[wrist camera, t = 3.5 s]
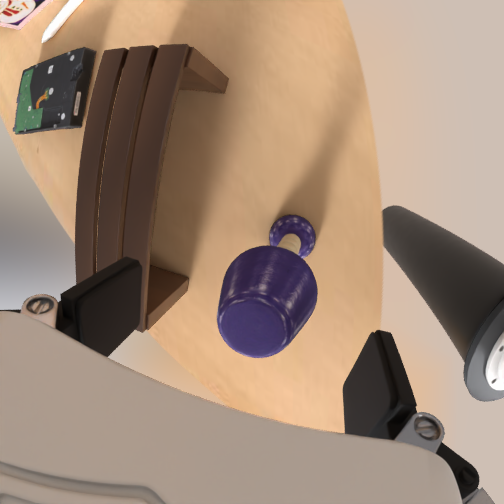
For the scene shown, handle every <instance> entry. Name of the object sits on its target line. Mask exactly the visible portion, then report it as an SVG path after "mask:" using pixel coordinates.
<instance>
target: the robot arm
mask: <svg viewBox="0 0 504 504" xmlns="http://www.w3.org/2000/svg"><path fill="white" fill-rule="evenodd" d="M142 271H143V267H142V265H140V262H139V260H136V259H133V258H130V257H127V256H126V257H123V258H122V259H120V260H118V261H116V262H115V263H113V264H111V265H109V266H107V267H106V268H104V269H102V270H100V271H99V272H97V273H95V274H94V275H92V276H90V277H88V278H87V279H85V280H83V281H82V282H80V283H78V284H77V285H75V286H73V287H72V288H70V289H68V290H67V291H65V292H63V293H62V294H61V301H60V302H57V300H56V299H55V298H54V297H52V296H49V295H46V294H38V295H34V296H31V297H29V298H28V299H26V300H25V301H24V303H23V305H22V309H21V310H0V504H495V503H494V502H493V501H492V499H491V498H490V497H489V496H488V494H487V493H486V491H485V490H484V489H483V488H481V489H478V488H477V487H478V485H479V475H478V472H477V470H476V469H475V468H474V467H473V466H472V465H471V464H470V463H468V462H467V461H466V460H464V459H463V458H462V457H460V456H459V455H458V454H456V453H455V452H454V451H452V450H451V449H450V448H449V447H447V446H446V445H444V444H443V443H442V440H443V438H444V434H445V432H444V427H443V425H442V423H441V422H440V421H439V420H438V419H437V418H436V417H435V416H433V415H431V414H429V413H425V412H419V413H417V411H416V406H417V404H416V401H415V398H414V395H413V392H412V389H411V386H410V383H409V380H408V377H407V374H406V371H405V368H404V366H403V363H402V360H401V357H400V354H399V352H398V349H397V347H396V344H395V341H394V339H393V336H392V334H391V333H389V332H385V331H381V330H376V332H375V333H374V332H372V333H371V334H370V335H369V337H368V339H367V341H366V343H365V345H364V347H363V349H362V351H361V353H360V355H359V357H358V359H357V361H356V363H355V364H354V366H353V368H352V370H351V372H350V373H349V375H348V377H347V379H346V381H345V383H344V385H343V403H344V422H345V434H344V433H337V432H331V431H325V430H319V429H314V428H309V427H304V426H299V425H294V424H290V423H286V422H281V421H277V420H273V419H269V418H265V417H262V416H258V415H254V414H251V413H247V412H244V411H240V410H237V409H234V408H230V407H227V406H224V405H221V404H218V403H215V402H212V401H209V400H206V399H203V398H200V397H198V396H195V395H192V394H189V393H187V392H184V391H181V390H179V389H176V388H174V387H171V386H169V385H166V384H164V383H161V382H159V381H157V380H154V379H152V378H150V377H148V376H145V375H143V374H141V373H138V372H136V371H134V370H132V369H130V368H128V367H126V366H123V365H121V364H119V363H117V362H115V361H113V360H111V359H109V358H107V357H108V356H109V355H110V354H111V353H112V352H113V351H114V350H115V349H116V348H117V347H118V346H119V345H120V344H121V343H122V342H123V341H124V340H125V339H126V338H127V337H128V336H129V335H130V334H131V333H132V332H133V331H134V330H135V329H136V328H137V327H138V325H139V323H140V314H141V287H142ZM486 379H487V381H488V383H489V385H490V386H491V387H492V388H493V389H495V390H504V331H503V333H502V334H501V336H500V337H499V338H498V340H497V342H496V343H495V345H494V347H493V349H492V351H491V353H490V356H489V358H488V361H487V365H486Z"/></svg>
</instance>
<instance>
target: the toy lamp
mask: <svg viewBox="0 0 504 504" xmlns="http://www.w3.org/2000/svg"><path fill="white" fill-rule="evenodd" d="M315 238H316V236H315V231H314V229H313V227H312V225H311V224H310V223H309V222H308V221H307V220H306V219H305V218H303V217H300V216H297V215H287V216H283V217H281V218H280V219H278V220H277V221H276V222H275V223H274V224H273V226H272V227H271V230H270V235H269V239H270V246H259V247H255V248H251V249H249V250H247V251H245V252H243V253H242V254H240V255H239V256H238V257H237V258H236V259H235V260H234V261H233V262H232V263H231V265H230V266H229V268H228V269H227V272H226V274H225V277H224V280H223V284H222V289H221V294H220V300H219V306H218V312H217V323H218V328H219V332H220V334H221V336H222V338H223V339H224V341H225V342H226V343H227V344H228V345H229V346H230V347H231V348H232V349H233V350H235V351H236V352H238V353H240V354H242V355H245V356H249V357H253V358H264V357H269V356H272V355H274V354H277V353H279V352H280V351H282V350H283V349H284V348H285V347H286V346H287V345H288V344H289V343H290V342H291V341H292V340H293V339H294V338H295V336H296V335H297V334H298V333H299V331H300V330H301V329H302V327H303V326H304V325H305V323H306V322H307V321H308V319H309V318H310V316H311V315H312V313H313V311H314V308H315V305H316V301H317V294H318V293H317V284H316V280H315V277H314V275H313V272H312V270H311V269H310V267H309V266H308V264H307V263H306V262H305V261H304V260H303V258H305V257H306V256H308V255H309V254H310V253H311V251H312V250H313V248H314V245H315Z"/></svg>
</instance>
